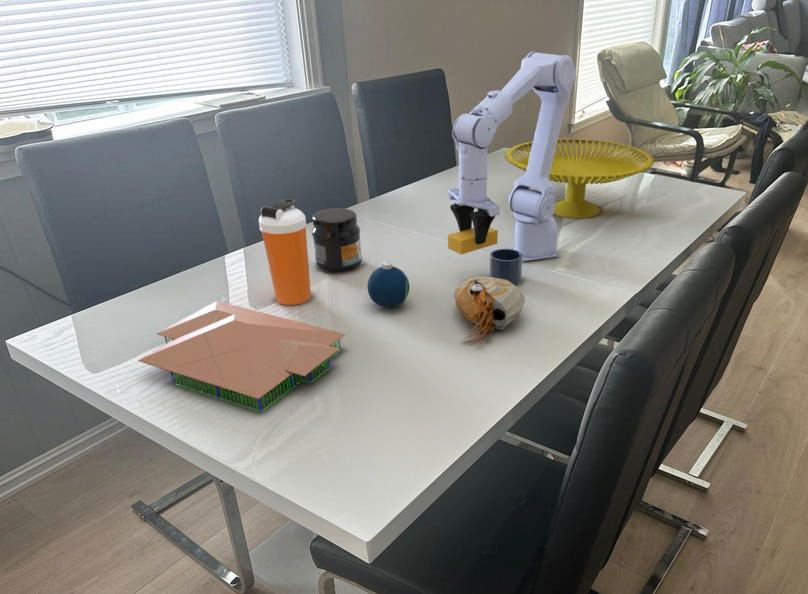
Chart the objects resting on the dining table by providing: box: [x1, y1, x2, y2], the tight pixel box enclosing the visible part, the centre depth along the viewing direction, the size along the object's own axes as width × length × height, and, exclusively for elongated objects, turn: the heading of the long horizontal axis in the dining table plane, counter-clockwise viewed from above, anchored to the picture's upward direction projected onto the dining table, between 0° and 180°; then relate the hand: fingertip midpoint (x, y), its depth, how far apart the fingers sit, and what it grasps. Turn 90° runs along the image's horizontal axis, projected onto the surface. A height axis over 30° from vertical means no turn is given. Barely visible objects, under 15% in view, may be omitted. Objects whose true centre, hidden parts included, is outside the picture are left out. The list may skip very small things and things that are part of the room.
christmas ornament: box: [366, 260, 410, 309], centre depth 138 cm, size 8×8×10 cm
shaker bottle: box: [258, 198, 312, 306], centre depth 138 cm, size 9×9×20 cm
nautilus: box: [453, 276, 526, 347], centre depth 132 cm, size 8×22×15 cm
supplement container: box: [311, 207, 363, 274], centre depth 155 cm, size 10×10×12 cm
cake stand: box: [504, 138, 655, 219], centre depth 189 cm, size 40×40×15 cm
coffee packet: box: [447, 226, 499, 256], centre depth 147 cm, size 10×4×3 cm, turn 130°
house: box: [137, 300, 346, 413], centre depth 119 cm, size 23×33×8 cm
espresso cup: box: [488, 248, 523, 286], centre depth 150 cm, size 7×7×6 cm
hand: (473, 239), depth 147 cm, fingers closed on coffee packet, 4 cm apart
